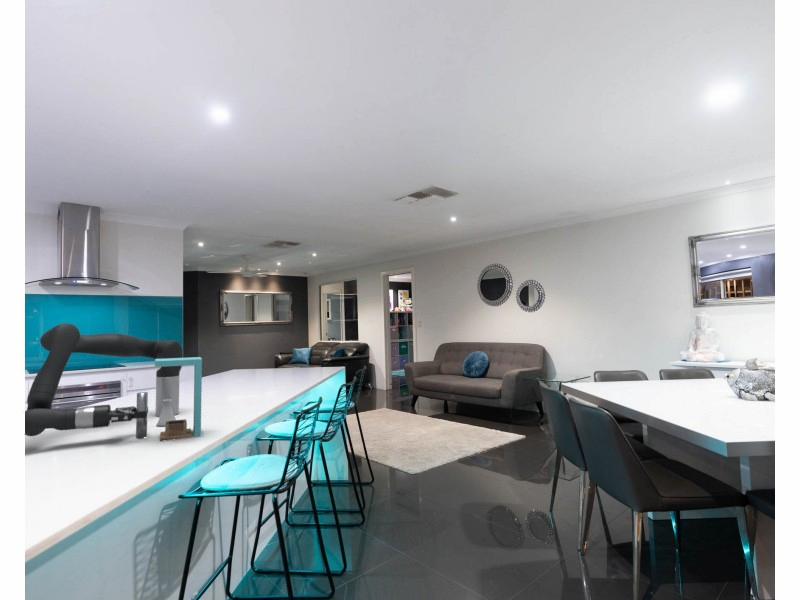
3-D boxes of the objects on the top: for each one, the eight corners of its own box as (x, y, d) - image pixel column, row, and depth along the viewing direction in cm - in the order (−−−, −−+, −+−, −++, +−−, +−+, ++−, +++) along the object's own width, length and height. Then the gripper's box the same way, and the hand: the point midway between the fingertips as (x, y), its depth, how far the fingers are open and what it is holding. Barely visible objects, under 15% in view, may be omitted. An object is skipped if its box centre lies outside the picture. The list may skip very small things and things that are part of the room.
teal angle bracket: (154, 435, 157) (155, 358, 158) (199, 430, 164) (200, 357, 165) (153, 442, 148) (155, 361, 149) (200, 436, 155) (202, 359, 156)
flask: (170, 427, 169) (171, 401, 170) (152, 427, 169) (153, 401, 170) (180, 422, 176) (180, 398, 177) (163, 422, 176) (163, 398, 177)
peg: (136, 436, 155) (137, 392, 155) (147, 435, 156) (148, 391, 157) (135, 439, 152) (136, 394, 152) (146, 437, 153) (147, 393, 154)
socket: (160, 434, 158) (160, 420, 158) (190, 431, 163) (190, 417, 163) (159, 441, 149) (160, 426, 149) (191, 437, 154) (191, 423, 154)
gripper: (90, 409, 142) (146, 404, 149) (96, 402, 154) (148, 398, 162) (89, 432, 141) (146, 426, 149) (96, 423, 154) (148, 418, 161)
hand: (147, 411), depth 155 cm, fingers open, 8 cm apart
